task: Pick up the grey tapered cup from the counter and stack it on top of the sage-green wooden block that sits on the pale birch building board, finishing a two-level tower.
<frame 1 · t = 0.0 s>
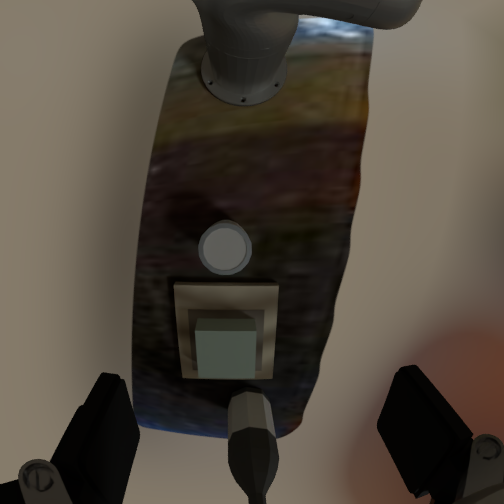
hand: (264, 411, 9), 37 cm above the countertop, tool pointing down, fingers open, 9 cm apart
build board: (226, 332, 49), on the countertop
grey tapered cup: (226, 237, 45), on the countertop
sage block: (226, 342, 47), point 2 cm above the countertop, touching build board
wine bottle: (248, 400, 53), on the countertop
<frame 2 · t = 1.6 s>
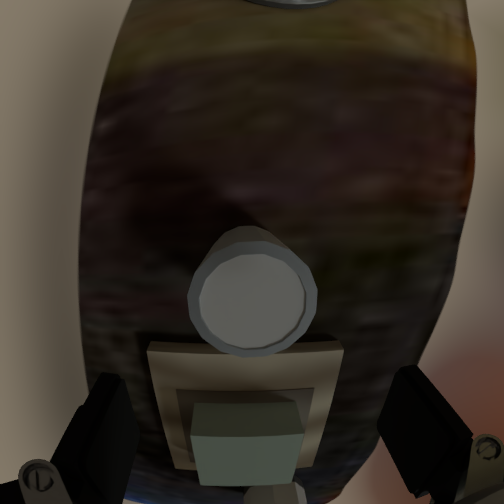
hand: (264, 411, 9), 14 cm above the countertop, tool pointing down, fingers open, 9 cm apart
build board: (244, 415, 26), on the countertop
grey tapered cup: (247, 262, 22), on the countertop
sage block: (244, 433, 25), point 2 cm above the countertop, touching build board
wine bottle: (272, 483, 31), on the countertop
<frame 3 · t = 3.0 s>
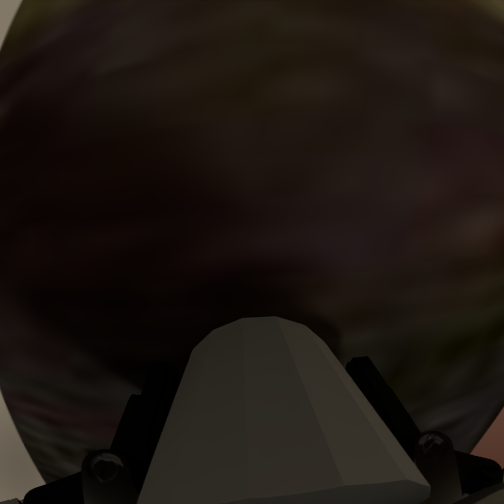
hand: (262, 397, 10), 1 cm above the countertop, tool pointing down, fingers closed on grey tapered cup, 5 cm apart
grey tapered cup: (259, 377, 11), on the countertop, touching gripper
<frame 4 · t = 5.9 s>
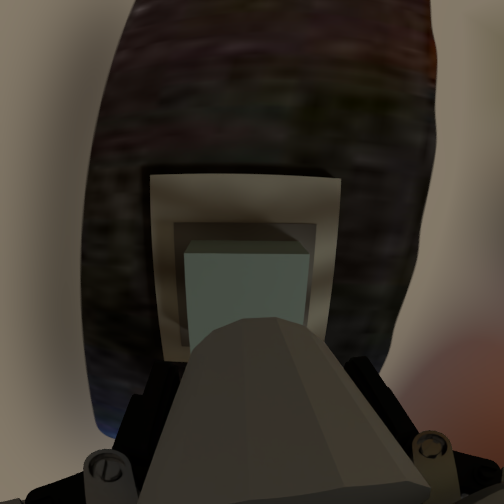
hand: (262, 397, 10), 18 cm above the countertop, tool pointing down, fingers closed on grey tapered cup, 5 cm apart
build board: (244, 273, 28), on the countertop
grey tapered cup: (259, 378, 11), point 17 cm above the countertop, touching gripper
sage block: (244, 290, 26), point 2 cm above the countertop, touching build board
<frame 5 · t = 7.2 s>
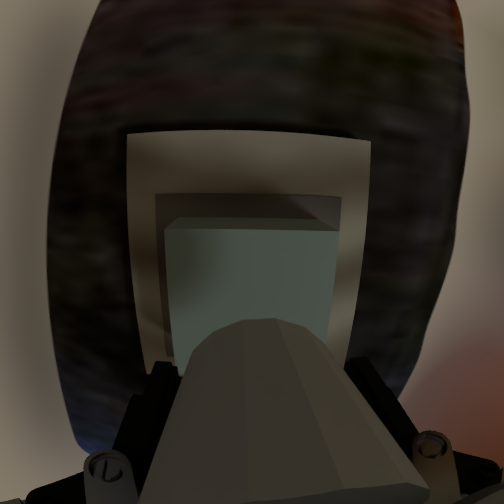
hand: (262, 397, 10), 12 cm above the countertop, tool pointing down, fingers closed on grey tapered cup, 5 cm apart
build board: (247, 263, 21), on the countertop
grey tapered cup: (259, 379, 11), point 11 cm above the countertop, touching gripper
sage block: (247, 284, 20), point 2 cm above the countertop, touching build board
when the fingers open (8 cm above the countertop, at t = 8.5 s): grey tapered cup drops 1 cm, resting on sage block.
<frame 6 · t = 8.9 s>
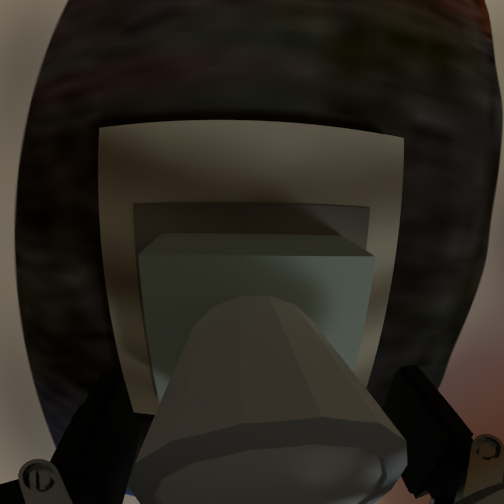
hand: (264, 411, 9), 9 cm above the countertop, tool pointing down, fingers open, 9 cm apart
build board: (250, 288, 17), on the countertop
grey tapered cup: (253, 354, 12), point 5 cm above the countertop, touching sage block
sage block: (251, 317, 16), point 2 cm above the countertop, touching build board, grey tapered cup
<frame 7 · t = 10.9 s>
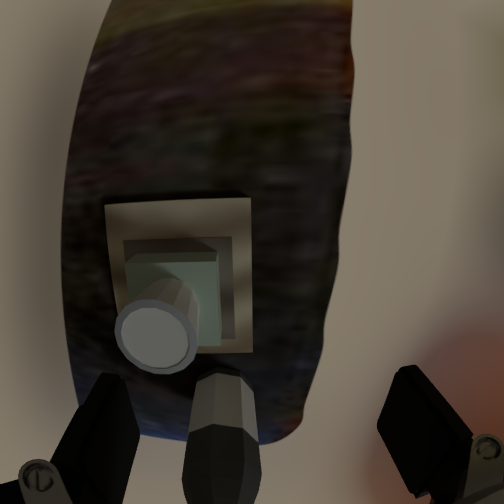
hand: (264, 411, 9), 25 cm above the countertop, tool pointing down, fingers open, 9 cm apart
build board: (181, 279, 34), on the countertop
grey tapered cup: (171, 304, 28), point 5 cm above the countertop, touching sage block
sage block: (179, 292, 32), point 2 cm above the countertop, touching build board, grey tapered cup
wine bottle: (223, 387, 38), on the countertop
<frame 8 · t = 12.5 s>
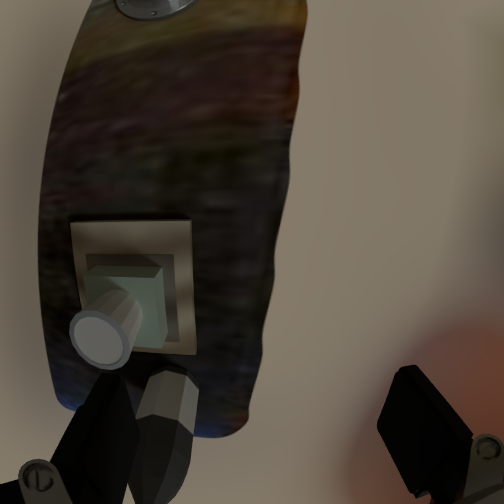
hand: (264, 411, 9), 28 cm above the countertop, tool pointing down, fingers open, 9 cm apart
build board: (134, 287, 37), on the countertop
grey tapered cup: (120, 311, 32), point 5 cm above the countertop, touching sage block
sage block: (131, 299, 36), point 2 cm above the countertop, touching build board, grey tapered cup
wine bottle: (174, 383, 42), on the countertop
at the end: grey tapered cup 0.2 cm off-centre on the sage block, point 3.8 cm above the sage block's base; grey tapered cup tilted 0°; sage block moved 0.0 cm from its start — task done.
